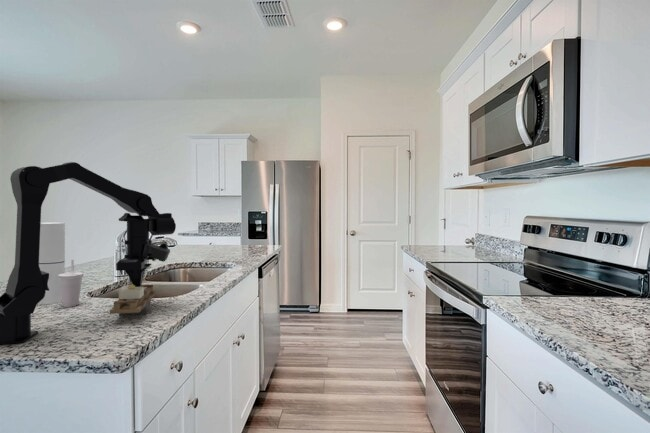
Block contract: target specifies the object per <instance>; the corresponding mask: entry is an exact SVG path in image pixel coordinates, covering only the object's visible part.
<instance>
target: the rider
mask: <svg viewBox="0 0 650 433" xmlns="http://www.w3.org/2000/svg"><path fill="white" fill-rule="evenodd" d="M144 290H145V287H135V285H133V284H130V285H128V286H123V287H121V288H120V289H119V290H118V300H119V299H126V301H129V300H134V299H140V298H141V297H142V296H143V295H144ZM127 304H130V303H126V305H127Z"/></svg>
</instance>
